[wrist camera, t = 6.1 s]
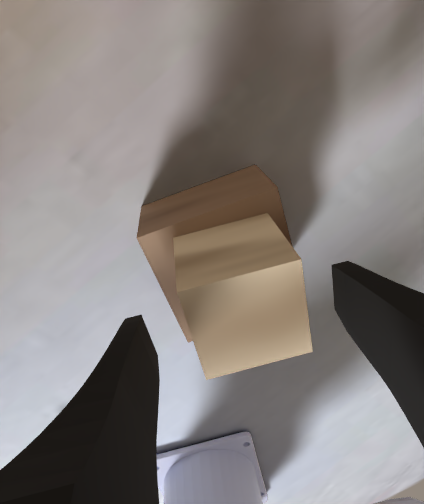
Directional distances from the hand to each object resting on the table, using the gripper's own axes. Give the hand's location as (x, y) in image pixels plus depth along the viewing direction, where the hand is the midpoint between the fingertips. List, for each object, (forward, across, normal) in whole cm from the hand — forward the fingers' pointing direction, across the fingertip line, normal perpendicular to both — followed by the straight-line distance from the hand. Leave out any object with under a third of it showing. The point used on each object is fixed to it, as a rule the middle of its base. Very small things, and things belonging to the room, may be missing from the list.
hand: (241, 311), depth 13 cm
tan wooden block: (+7, 0, 0) cm, 7 cm away
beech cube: (+3, 0, 0) cm, 3 cm away
